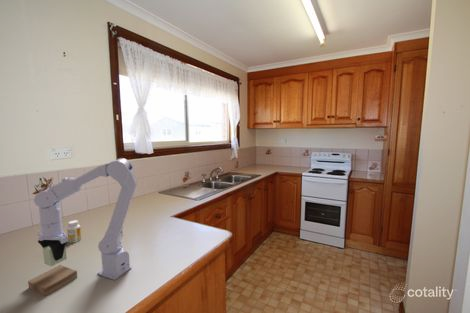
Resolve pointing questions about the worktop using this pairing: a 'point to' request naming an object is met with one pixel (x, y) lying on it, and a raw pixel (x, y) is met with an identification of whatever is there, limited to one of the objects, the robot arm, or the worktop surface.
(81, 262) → the worktop surface
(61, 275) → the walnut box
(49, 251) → the sage-green block
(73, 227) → the supplement bottle
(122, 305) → the worktop surface
